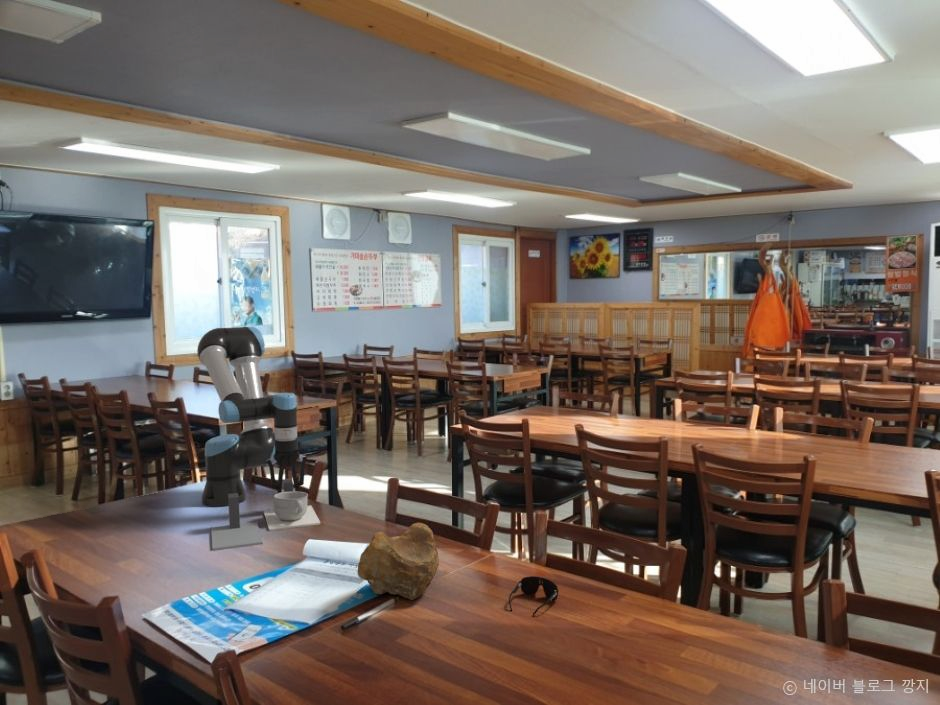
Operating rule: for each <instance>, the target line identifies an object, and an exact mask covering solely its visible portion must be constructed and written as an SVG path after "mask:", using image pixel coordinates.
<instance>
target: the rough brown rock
mask: <svg viewBox="0 0 940 705" xmlns="http://www.w3.org/2000/svg"><path fill="white" fill-rule="evenodd" d="M439 565H440V562H439V551H438V549H437V544H436V541H435V538H434V533H433V531H432V529H431V528H430V527H429V525H427V524H425V523H422V522H415V523H413V524H411V525H410V526H409V527H408V528H407V529H406V531H404V533H402V534H401V535H396V536H392V537H391V536H390V537H389V536H387V534H386V533H385V532H383V531H378V532H375V533H373V535H372V536H371V541H370V543H369V544H368V545H367V547H366V548H365V549H364V550H363V552H362V553H361V554H360V557H359V562H358V564H357V576H358V578H360V579H362V580H364V581H367V583H368V585H369V586H370V588H371V590H372V591H373V593H374V594H376V595H384V594H386V593H389V594H390V595H399V596H401V597H403V598H404V599H408V600H410V601H413V600H415V599H417V598H419V597H420V596H421V595H422V594H423V592H424V591H425V589H426V588H427V585H428V584H429V583H431V581H433V579H434V577H435V576H436V575H437V574H436V573H437V570H438V568H439Z"/></svg>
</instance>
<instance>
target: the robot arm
mask: <svg viewBox="0 0 940 705" xmlns="http://www.w3.org/2000/svg"><path fill="white" fill-rule="evenodd" d="M265 350H266V348H265V339H264V337H263V334H262V333H261V331H260V330H259V328H257V327H255V326H241V327H240V326H239V327H235V326H234V327H216V328H212V329H210V330H209V331H207V332H206V333H204V335H203V336H202V337H201V338H200V340H199V342H198V345H197V350H196V352H197V357H198V359H199V362H200V363H201V365H203V366H204V367H205V368H206V371H207V372H208V374H209V377H210V380H211V382H212V384H213V386H214V389H215V390H216V393H217V395H218V397H219V399H220V400H219V401H220V402H219V404H218V415H219V420H220V421H221V423H223V424H237V423H243V429H242V430H241V432H240V436H239V435H238V434H237V433H229V434H222V435H221V434H220V435H218V436H215V437H212V438H210V439H209V440H207V441H206V442H205V445H204V458H205V463H204V464H205V479H206V481H205V485H204V488H203V492H202V495H201V503H202V504H203V505H204V506H208V507H225V506H229V505H228V494H232V493H238V496H239V504H240V503H242V502H245V501H246V499H247V493H246V492H247V491H246V490H245V487H244V484H243V481H242V479H241V470H246V469H252V468H260V467H268V468H269V474H270V475H269V476H270V483H271V487H272V489H276V490H277V494H278V493H281V492H284V489H283V488H282V480H283V478H284V472H285V471H284V470H285V468H286V467H290V471H291V476H292V482H293V491H297V492H299V488H300V487H301V486H304V483H305V465H306V462H307V459H308V458H307V456H306V455H303V454H300V452H299V447H298V446H299V445H298V443H299V442H298V419H297V418H298V417H297V415H298V413H297V407H298V402H297V395H295V393H293V392H279V393H275V394H274V395H272V394H268V395H265V396H264V392H263V386H262V381H261V375H260V369H259V363H260V362H261V360H262V356H263V355H265ZM228 361H229V362H228ZM231 366H232V367H233V368H234V370H235V371H234V372H233V369H232V368H231ZM234 373H235V375H234ZM269 419H273V427H272V426H271V425H270V424H269V423H268V420H269ZM298 460H299V478H298V477H297V472H296V467H295V464H296V462H297V461H298ZM276 463H277V464H278V465H279V466H278V467H279V468H278V477H277V483H276V477H275V475H276V474H275V469H274V465H276ZM298 479H299V481H298Z"/></svg>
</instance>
